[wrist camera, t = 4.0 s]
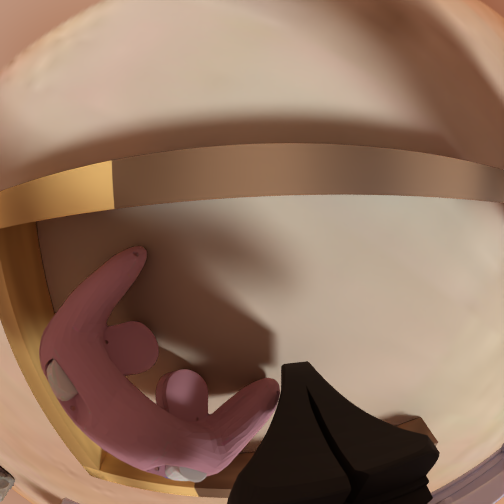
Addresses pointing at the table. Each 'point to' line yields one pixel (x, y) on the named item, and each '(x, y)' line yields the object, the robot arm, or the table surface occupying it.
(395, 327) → the table surface
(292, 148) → the bay
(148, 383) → the table surface
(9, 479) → the mineral rock
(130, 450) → the video game controller
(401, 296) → the table surface
